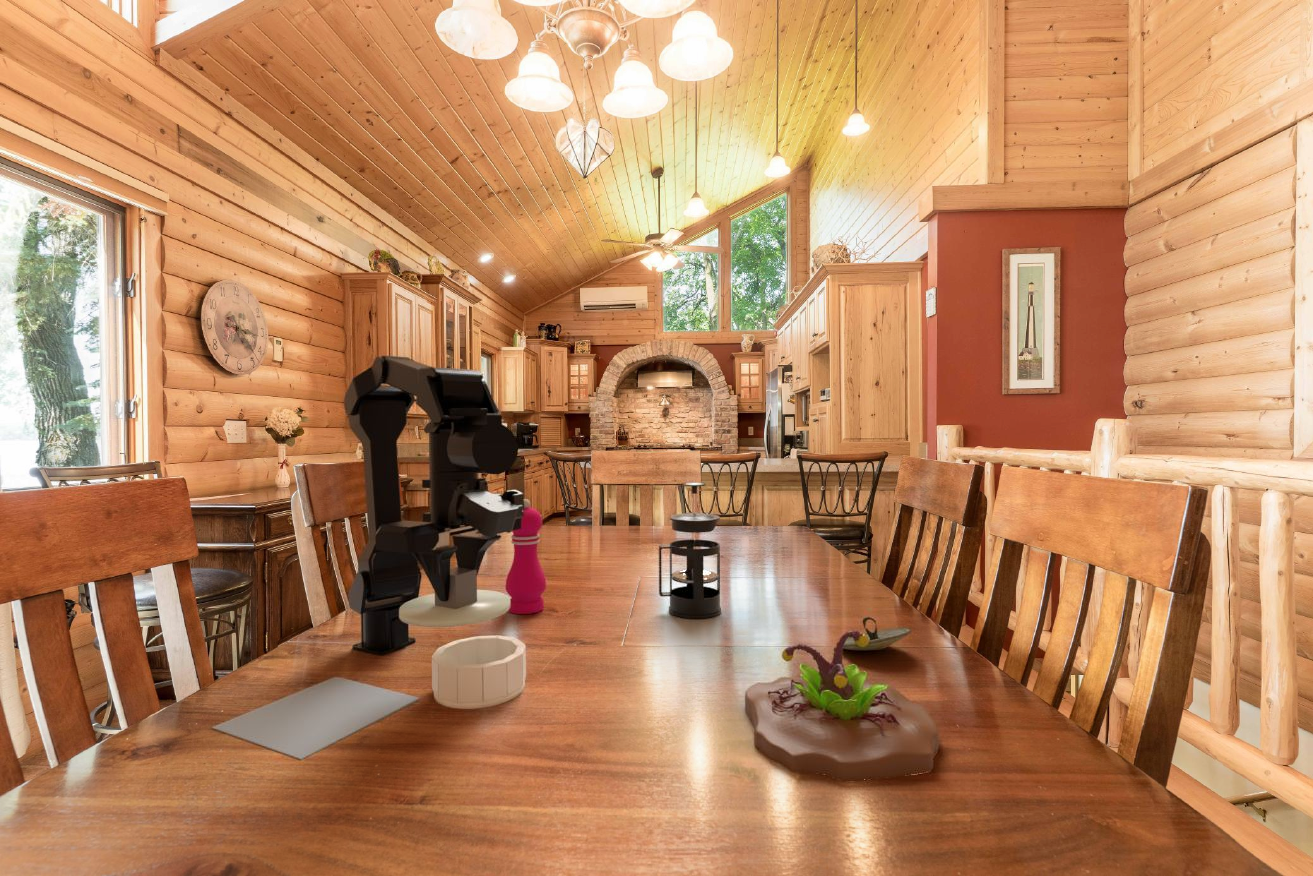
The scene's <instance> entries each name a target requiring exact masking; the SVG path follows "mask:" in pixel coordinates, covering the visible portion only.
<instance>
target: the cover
mask: <svg viewBox="0 0 1313 876" xmlns="http://www.w3.org/2000/svg"><path fill="white" fill-rule="evenodd" d="M477 576H478V574H477V570H475V569H467V568H460V567H458V566H454V567H450V590H449V598H448V601H446V602H444V601H440V600H439V598H438V596H437V594H436V592H435V591H434V593H430V594H426V595H422V596H419V597H418V598H415V599H413V600H410V601H408V602H406V603H404V604H403V605H402V606H401V607H400V608H399V618H400V620H401V621H402V622H404V623H407V624H409V626H410V625H411V626H414V627H423V628H448V627H450V628H451V627H460V626H466V625H467V626H468V625H473V624H478V623H482V622H486V621H487V622H488V621H489V620H493V619H495V618H498V617H500V616H503V615H504V614H506V613H507V612H509V609H510V599H511V596H510V595H509V594H506V593H503V592H500V591H496V590H495V591H494V590H489V589H478V582H477V581H478V579H477V578H478V577H477ZM508 595H509V596H508Z"/></svg>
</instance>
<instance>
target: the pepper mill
mask: <svg viewBox="0 0 1313 876" xmlns="http://www.w3.org/2000/svg"><path fill="white" fill-rule="evenodd" d="M523 512H524V517H522V518H521V529H518V530H513V531H512V532H511V533H512V534H511V536H510V537H511V544H513V549H514V550H513V552H514V553H513V560H512V564H511V566H510V569H509V571H508V573H507V576H506V580H505V592H506V593H507V595H509V597H510V609H509V610H508V612H510V613H512V614H514V615H530V614H536V613H540V612H541V611H543V610H544V609H545V608H544V607H545V602H544V597H543V596H542V595H543V593H544V591H545V590H546V588H547V579H546V576H545V572H544V570H543V568H542V566H541V563H540V560H539V557H538V543H540V541H541V540H540V533H538V532H539V531H540V530H541V528H542V526H543V517H542V514H541V513H540V512H539V511H538V510H537V509H535V508H533V507H531V502H530V500H529V499H527V498H524V511H523Z"/></svg>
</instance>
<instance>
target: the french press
mask: <svg viewBox="0 0 1313 876" xmlns="http://www.w3.org/2000/svg"><path fill="white" fill-rule="evenodd" d="M682 486H685V487H691V494H692V495H693V496H692V497H693V498H692V499H693V501H692V502H693V512H685V513H677V514H673V515H670V516H669V520H671V529H672V530H673V531H675V532H680V533H689V534H690V533H691V534H693V539H679V540H678V539H677V540H674V541H671V542H670V543H669V544H660V545H658V594H659V597H669V606H668V612H669V614H671V615H672V616H674V617H678V618H681V619H682V618H683V619H690V620H691V619H692V620H697V619H698V620H701V619H710V618H713V617H716V616H719V615H720V614H721V613H722V607H721V572H720V571H721V544H720V543H719V542H717V541H714V540H709V539H696V533H698V534H699V533H702V534H703V533H710V532H713V531H714V529H715V528H716V526H717V523H718V521H720V519H721V517H720V516H719V515H718V514H717V515H716V514H711V513H702V512H697V511H696V494H698V487H705V486H707V484H706V483H705V482H700V481H698V482H697V481H693V482H690V481H689V482H685V483H682ZM697 547H699V548H697ZM700 547H701V548H700ZM663 549H664V550H665V549H667V550H668V549H669V591H667V592H666V591H664V592H663V590H662V589H663V588H662V586H663V585H662V584H663V583H662V579H663V577H662V550H663ZM673 555H674V556H675V555H676V556H680V557H681V556H682V557H686V569H684V570H677V571H675V572H673V569H672V568H673V567H672V566H673V563H672V560H673V558H672V557H673ZM715 555H716V572H715V571H712V570H711V571H710V570H704V569H705V568H704V557H710V556H711V557H712V556H715ZM673 581H674V582H677V583H680V584H686V585H683V586H679V587H678V586H677V587H675V588H673ZM714 582H717V583H716V588H715V587H714V588H713V587H711V586H705V584H712V583H714Z"/></svg>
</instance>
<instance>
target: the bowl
mask: <svg viewBox="0 0 1313 876" xmlns="http://www.w3.org/2000/svg"><path fill="white" fill-rule="evenodd" d="M526 649H527V645H526V644H525V643H524V642H522V641H521V640H520V639H518V638H515V637H511V636H504V635H499V634H498V635H478V636H477V635H475V636H470V637H466V638H460V639H456V640H453V641H451V642H448V643H446V644H444V645H442V646H440V647H438V648H437V649H436V650H435V651H434V652H433V654H432V655H431V690H432V691H433V698H434V700H435V702H436V703H438V704H440V705H441V706H443V707H447V708H452V709H457V710H458V709H460V710H473V709H474V710H475V709H477V710H478V709H485V708H489V707H493V706H497V705H501V704H503V703H507V702H509V701H510V700H513V699H515V698H516V697H518V696H519V695H521V693H522V692H523V691H524V690H525V687H526V678H527V652H526V651H527V650H526Z"/></svg>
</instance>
